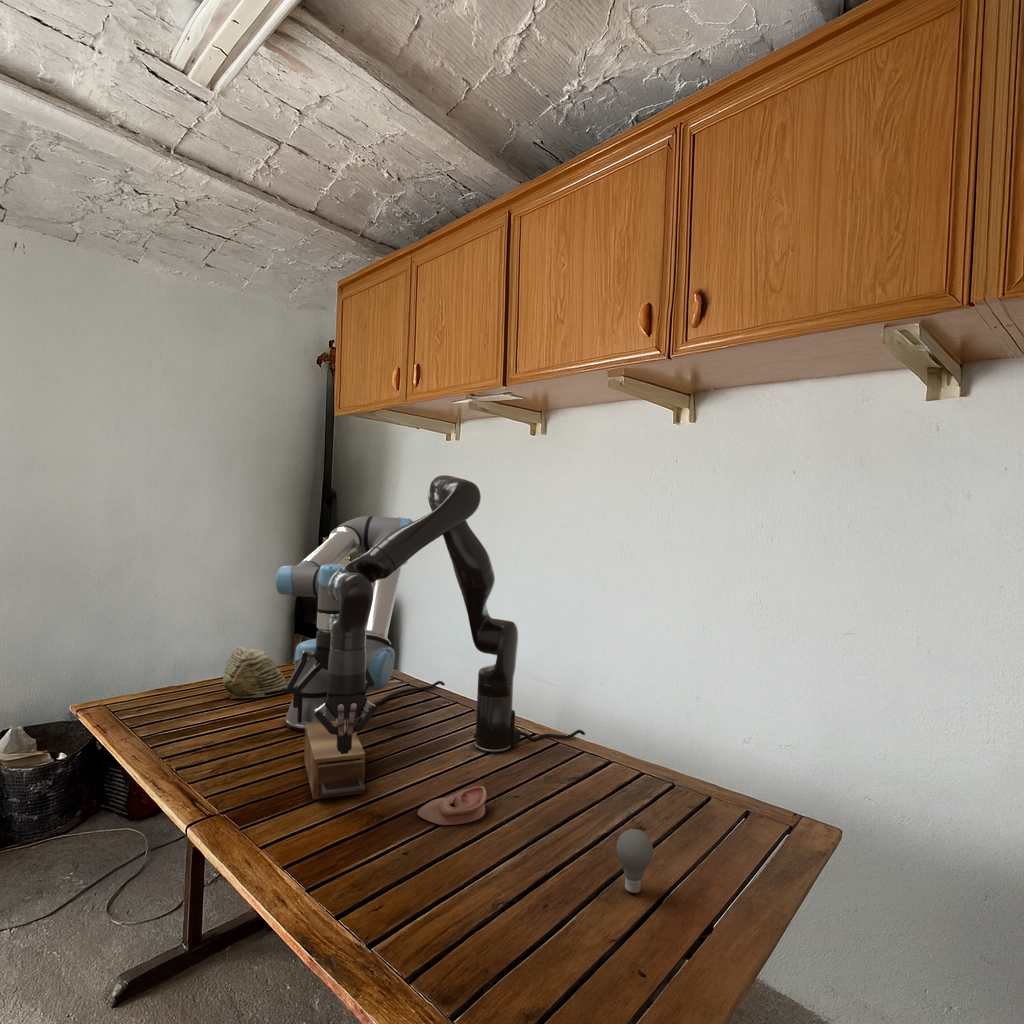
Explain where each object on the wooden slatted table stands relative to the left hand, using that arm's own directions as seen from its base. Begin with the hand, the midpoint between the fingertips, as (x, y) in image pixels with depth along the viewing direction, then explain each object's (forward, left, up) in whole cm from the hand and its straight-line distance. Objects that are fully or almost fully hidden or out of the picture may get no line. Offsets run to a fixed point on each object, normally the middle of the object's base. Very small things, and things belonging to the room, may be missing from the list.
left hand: (329, 718), depth 151 cm
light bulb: (-5, +79, -11) cm, 79 cm away
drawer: (+6, +11, -10) cm, 16 cm away
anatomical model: (-3, +38, -11) cm, 40 cm away
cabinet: (+3, +7, -11) cm, 13 cm away
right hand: (+11, +20, +1) cm, 23 cm away
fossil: (-14, -58, -11) cm, 60 cm away
